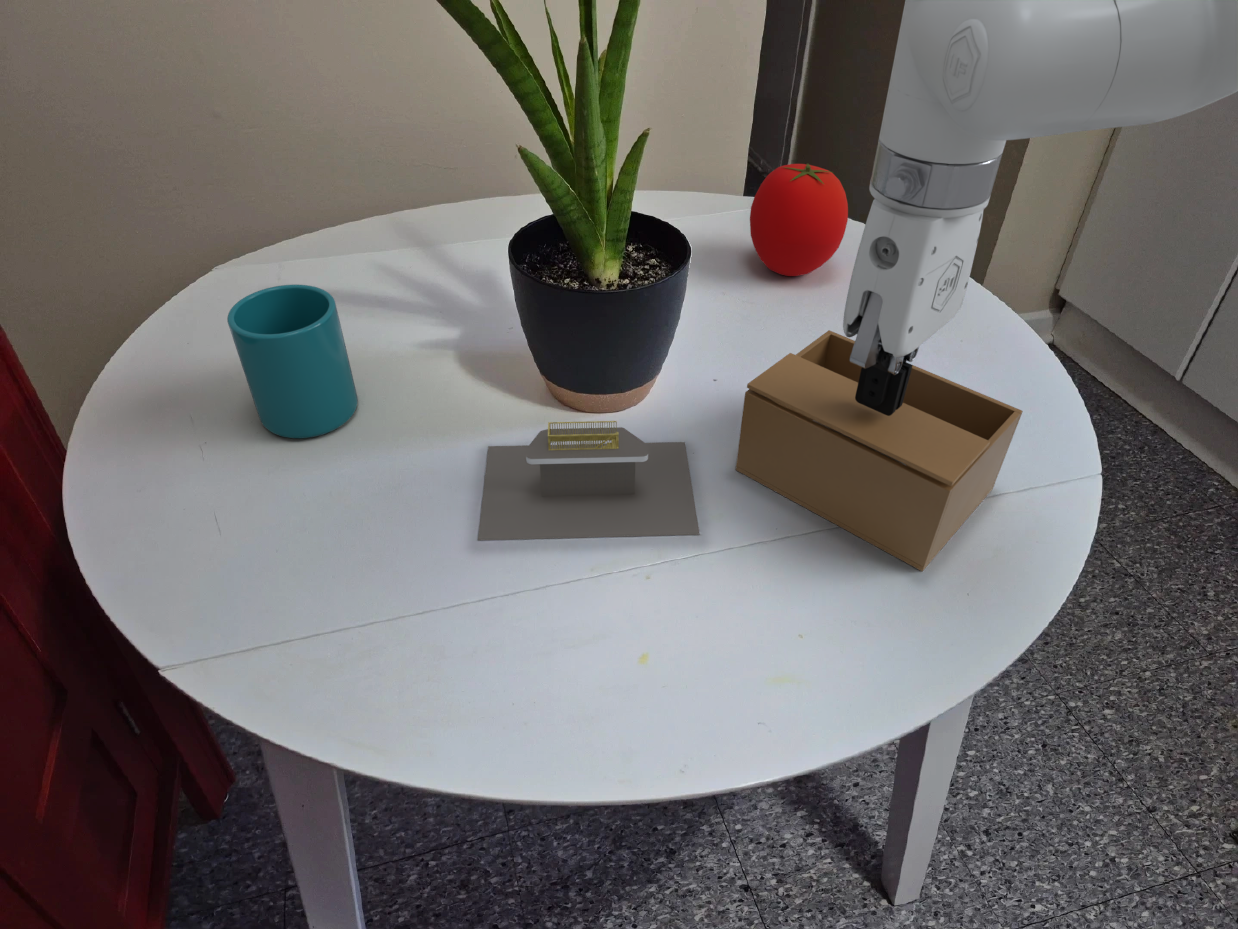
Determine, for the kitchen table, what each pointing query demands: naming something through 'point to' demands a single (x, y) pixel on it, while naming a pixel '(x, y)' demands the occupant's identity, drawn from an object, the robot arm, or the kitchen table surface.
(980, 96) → the robot arm
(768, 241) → the tomato
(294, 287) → the cup
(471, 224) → the kitchen table surface
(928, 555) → the carton
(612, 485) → the platform
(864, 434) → the flap
